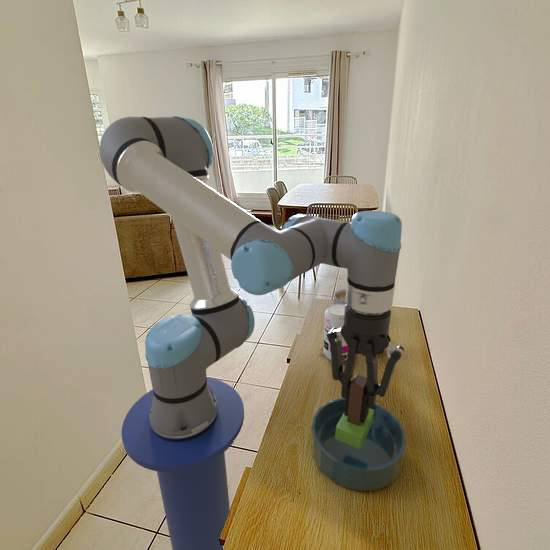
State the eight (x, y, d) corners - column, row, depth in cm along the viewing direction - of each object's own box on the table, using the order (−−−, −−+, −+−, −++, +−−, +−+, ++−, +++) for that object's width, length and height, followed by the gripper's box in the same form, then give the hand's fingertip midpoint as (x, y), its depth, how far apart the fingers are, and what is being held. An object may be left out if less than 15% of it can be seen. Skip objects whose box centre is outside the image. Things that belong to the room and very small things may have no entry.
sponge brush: (360, 450, 65) (366, 399, 61) (334, 438, 68) (338, 388, 63) (373, 421, 72) (379, 373, 67) (349, 412, 74) (354, 364, 69)
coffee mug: (336, 312, 128) (337, 287, 124) (364, 317, 125) (366, 291, 121) (326, 330, 117) (327, 303, 113) (357, 336, 113) (359, 309, 109)
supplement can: (356, 354, 104) (361, 309, 99) (339, 366, 99) (343, 319, 93) (334, 343, 110) (337, 300, 104) (317, 354, 105) (319, 309, 99)
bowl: (295, 465, 70) (296, 443, 68) (331, 407, 85) (332, 387, 82) (388, 511, 62) (392, 487, 59) (410, 438, 76) (414, 417, 74)
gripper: (316, 303, 60) (311, 411, 69) (411, 328, 52) (392, 445, 62) (333, 287, 66) (326, 388, 75) (421, 307, 58) (402, 417, 68)
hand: (356, 414), depth 68 cm, fingers closed on sponge brush, 2 cm apart
